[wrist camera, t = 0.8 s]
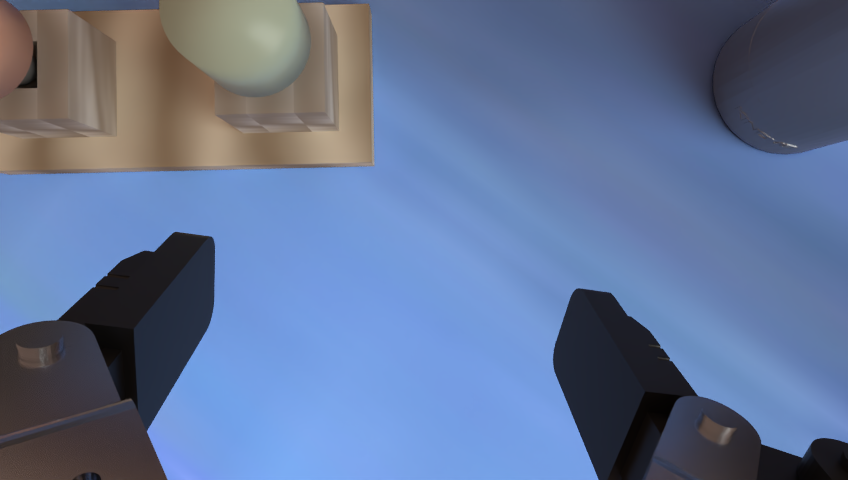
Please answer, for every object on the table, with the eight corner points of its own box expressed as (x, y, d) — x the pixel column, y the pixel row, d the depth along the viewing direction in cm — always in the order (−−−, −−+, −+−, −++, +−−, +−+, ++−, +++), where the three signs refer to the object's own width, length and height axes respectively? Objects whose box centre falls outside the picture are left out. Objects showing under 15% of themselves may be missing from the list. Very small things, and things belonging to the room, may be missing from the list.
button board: (371, 14, 35) (359, -35, 29) (374, 166, 35) (362, 148, 29) (9, 23, 35) (-77, -23, 29) (9, 174, 35) (-78, 158, 29)
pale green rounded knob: (321, 10, 30) (288, -62, 23) (323, 111, 29) (291, 68, 23) (220, 13, 30) (158, -59, 23) (222, 113, 29) (159, 71, 23)
